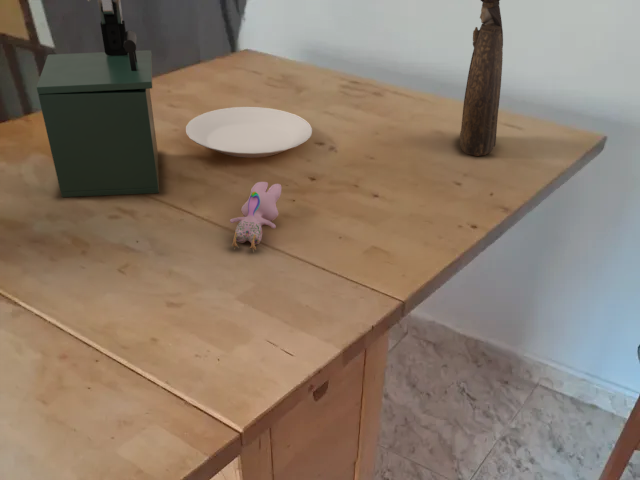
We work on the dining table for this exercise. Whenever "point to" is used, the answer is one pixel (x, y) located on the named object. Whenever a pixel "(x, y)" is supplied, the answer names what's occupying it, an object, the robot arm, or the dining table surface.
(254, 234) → the rabbit figure
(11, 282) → the dining table surface
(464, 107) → the statue
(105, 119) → the waste bin
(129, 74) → the bin lid
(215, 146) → the plate
